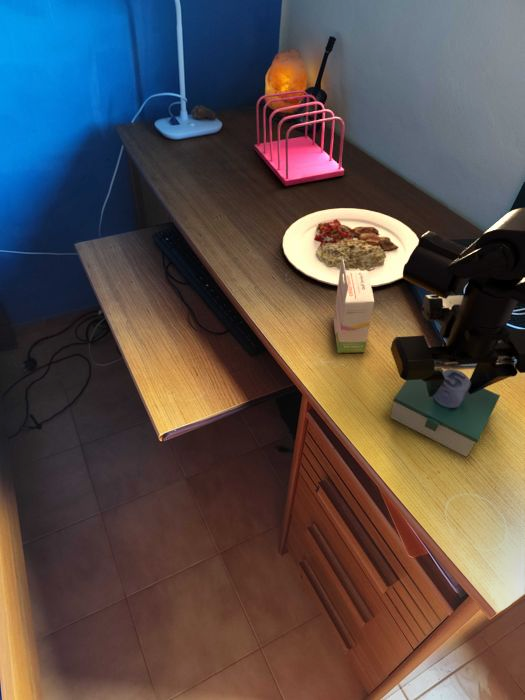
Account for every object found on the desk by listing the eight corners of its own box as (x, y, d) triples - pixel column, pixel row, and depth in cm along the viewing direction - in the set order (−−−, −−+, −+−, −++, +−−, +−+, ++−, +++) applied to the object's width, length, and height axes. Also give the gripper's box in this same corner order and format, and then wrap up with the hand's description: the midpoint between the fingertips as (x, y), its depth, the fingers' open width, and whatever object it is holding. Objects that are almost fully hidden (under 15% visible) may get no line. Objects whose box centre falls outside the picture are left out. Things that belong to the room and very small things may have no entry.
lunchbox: (489, 413, 72) (501, 393, 68) (466, 461, 66) (477, 442, 63) (414, 378, 77) (421, 357, 74) (386, 419, 72) (392, 399, 68)
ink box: (365, 353, 81) (379, 287, 71) (337, 353, 82) (346, 287, 71) (359, 320, 87) (370, 254, 77) (332, 320, 88) (340, 254, 77)
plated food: (387, 312, 89) (390, 298, 86) (256, 264, 100) (256, 250, 98) (438, 237, 106) (442, 224, 103) (321, 203, 117) (322, 191, 115)
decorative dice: (466, 395, 68) (474, 377, 65) (454, 412, 66) (463, 395, 63) (440, 382, 70) (447, 364, 67) (428, 398, 68) (435, 381, 65)
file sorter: (285, 187, 124) (285, 126, 112) (254, 150, 140) (252, 93, 129) (343, 175, 127) (350, 115, 116) (307, 141, 144) (309, 85, 133)
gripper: (529, 268, 62) (490, 349, 73) (390, 276, 62) (373, 356, 73) (572, 325, 54) (522, 405, 66) (414, 334, 54) (391, 414, 65)
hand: (449, 392), depth 67 cm, fingers closed on decorative dice, 5 cm apart
